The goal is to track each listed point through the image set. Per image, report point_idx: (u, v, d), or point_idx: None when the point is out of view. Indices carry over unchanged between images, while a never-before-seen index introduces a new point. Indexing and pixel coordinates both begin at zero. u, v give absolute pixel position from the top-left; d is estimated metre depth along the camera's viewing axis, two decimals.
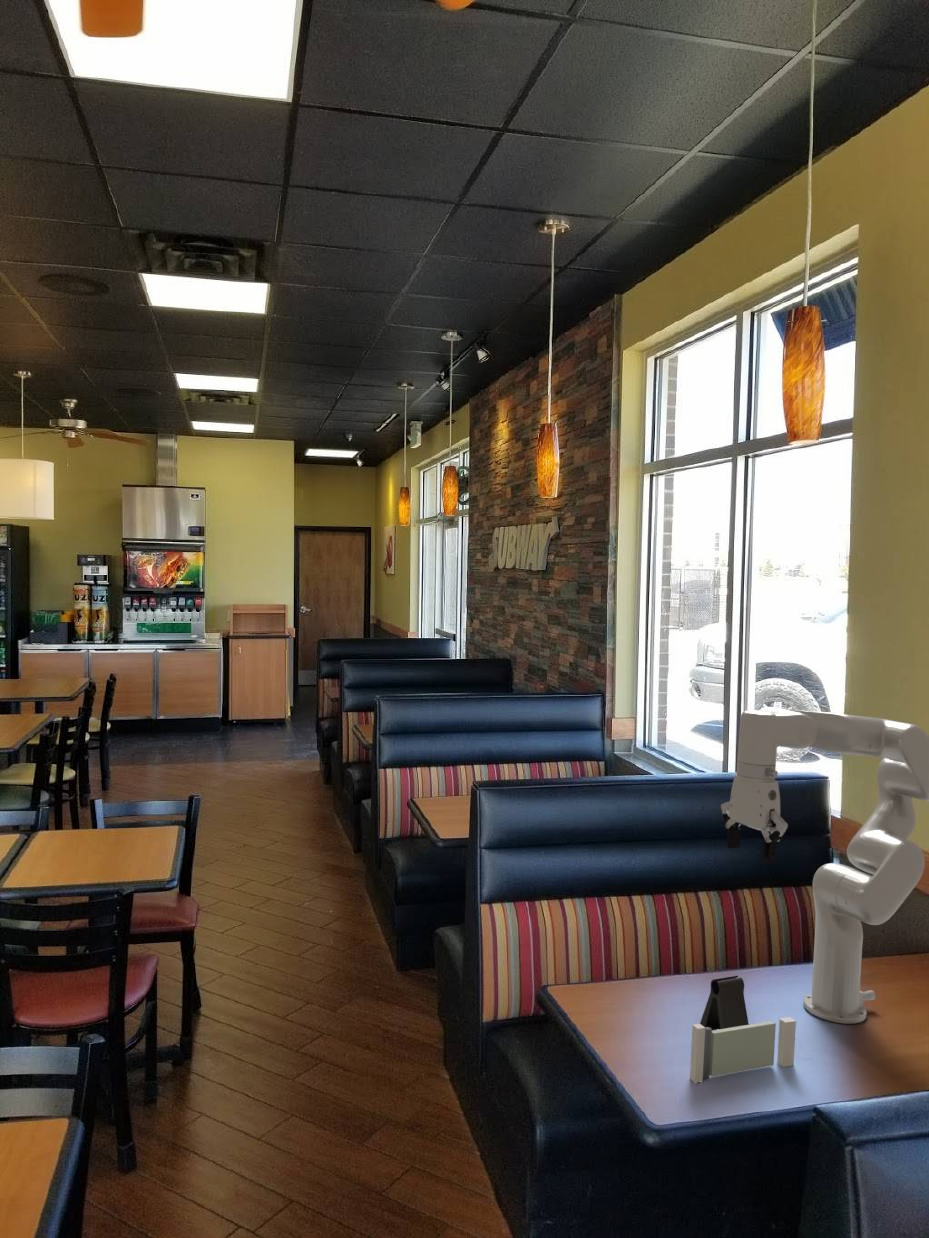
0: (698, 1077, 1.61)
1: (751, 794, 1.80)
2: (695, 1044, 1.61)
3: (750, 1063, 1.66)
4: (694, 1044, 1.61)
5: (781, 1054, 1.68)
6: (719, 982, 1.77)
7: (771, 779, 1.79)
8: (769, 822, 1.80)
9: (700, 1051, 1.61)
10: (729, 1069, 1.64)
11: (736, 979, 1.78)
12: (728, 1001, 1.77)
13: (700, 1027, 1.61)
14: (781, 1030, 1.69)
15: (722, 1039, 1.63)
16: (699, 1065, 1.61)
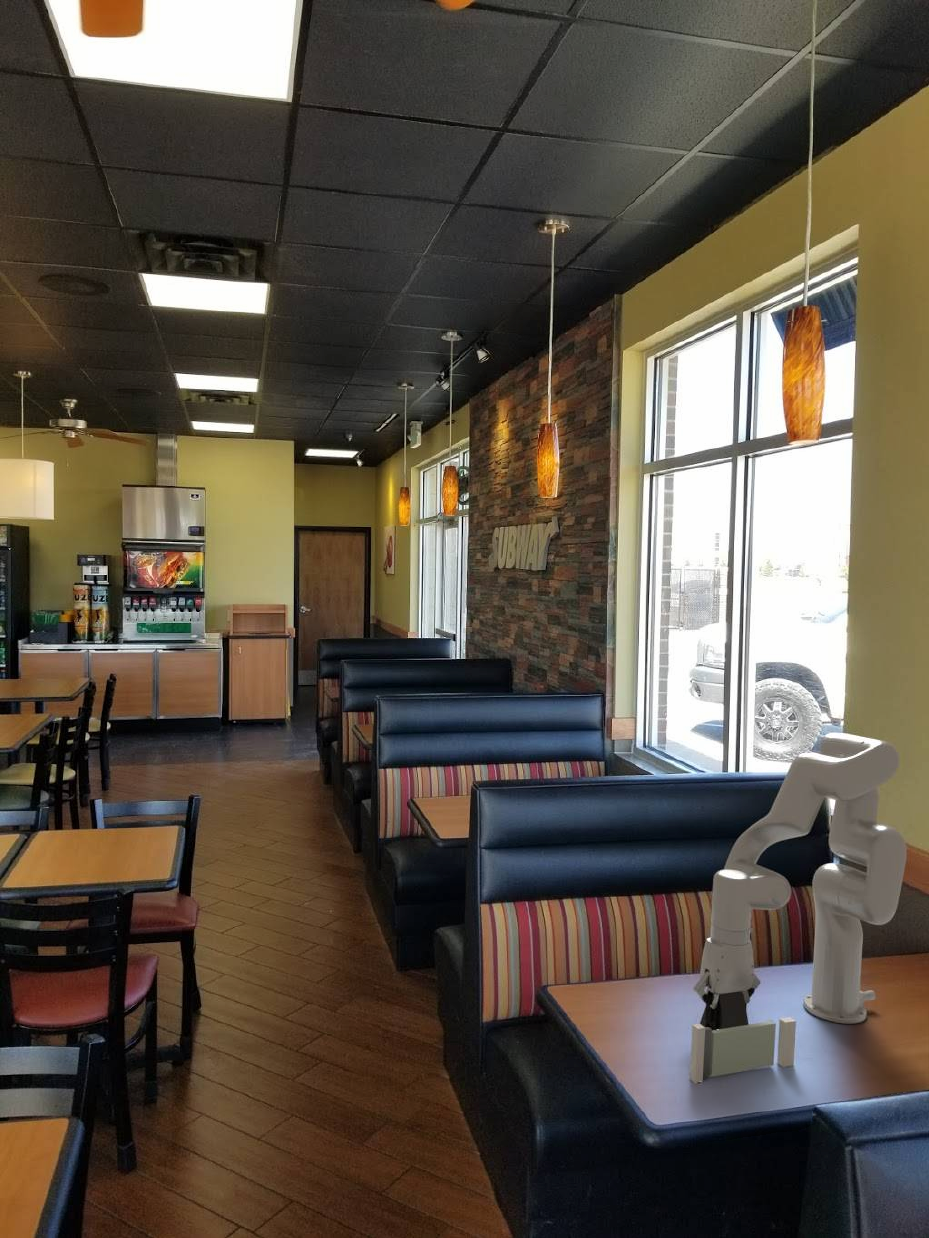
0: (698, 1077, 1.61)
1: (743, 959, 1.77)
2: (695, 1044, 1.61)
3: (750, 1063, 1.66)
4: (694, 1044, 1.61)
5: (781, 1054, 1.68)
6: None
7: None
8: None
9: (700, 1051, 1.61)
10: (729, 1069, 1.64)
11: None
12: (728, 1001, 1.77)
13: (700, 1027, 1.61)
14: (781, 1030, 1.69)
15: (722, 1039, 1.63)
16: (699, 1065, 1.61)
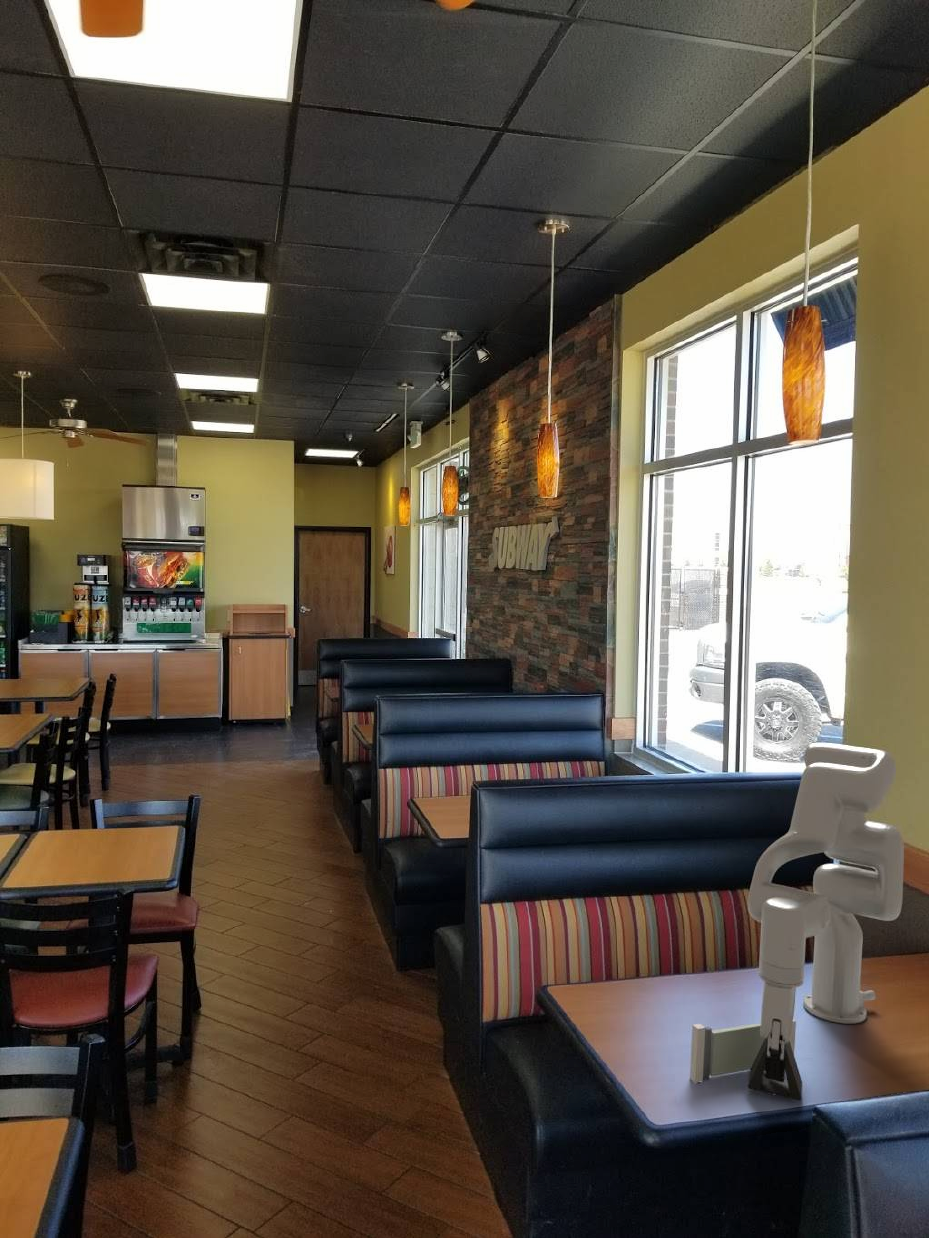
0: (698, 1077, 1.61)
1: None
2: (695, 1044, 1.61)
3: (750, 1063, 1.66)
4: (694, 1044, 1.61)
5: None
6: None
7: None
8: None
9: (700, 1051, 1.61)
10: (729, 1069, 1.64)
11: None
12: (787, 1045, 1.57)
13: (700, 1027, 1.61)
14: None
15: (722, 1039, 1.63)
16: (699, 1065, 1.61)
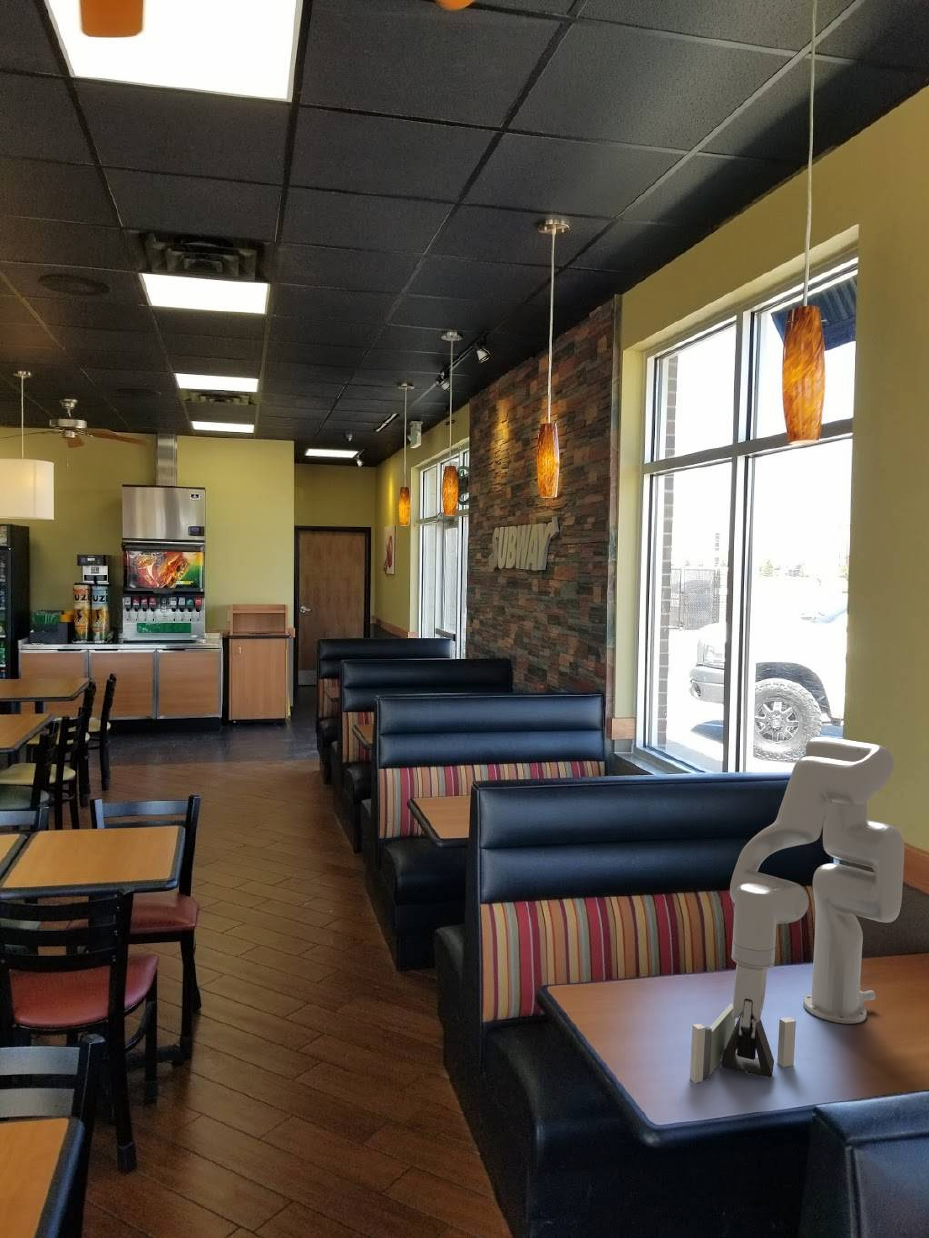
0: (698, 1077, 1.61)
1: None
2: (695, 1044, 1.61)
3: None
4: (694, 1044, 1.61)
5: (781, 1054, 1.68)
6: None
7: None
8: None
9: (700, 1051, 1.61)
10: (717, 1062, 1.66)
11: None
12: (758, 1025, 1.64)
13: (700, 1027, 1.61)
14: (781, 1030, 1.69)
15: (715, 1035, 1.65)
16: (699, 1065, 1.61)
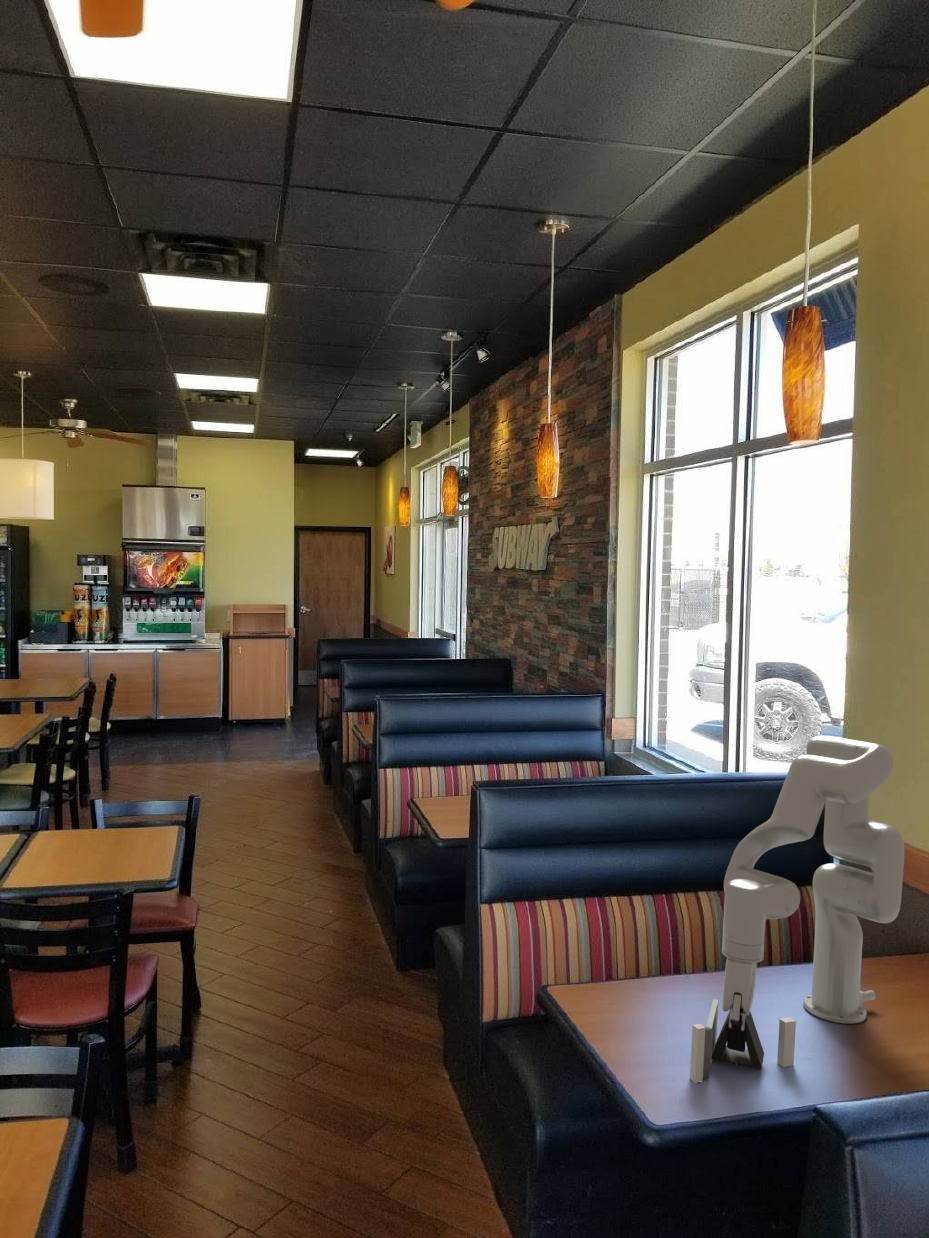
0: (698, 1077, 1.61)
1: None
2: (695, 1044, 1.61)
3: None
4: (694, 1044, 1.61)
5: (781, 1054, 1.68)
6: None
7: None
8: None
9: (700, 1051, 1.61)
10: (711, 1060, 1.67)
11: None
12: (747, 1018, 1.67)
13: (700, 1027, 1.61)
14: (781, 1030, 1.69)
15: None
16: (699, 1065, 1.61)
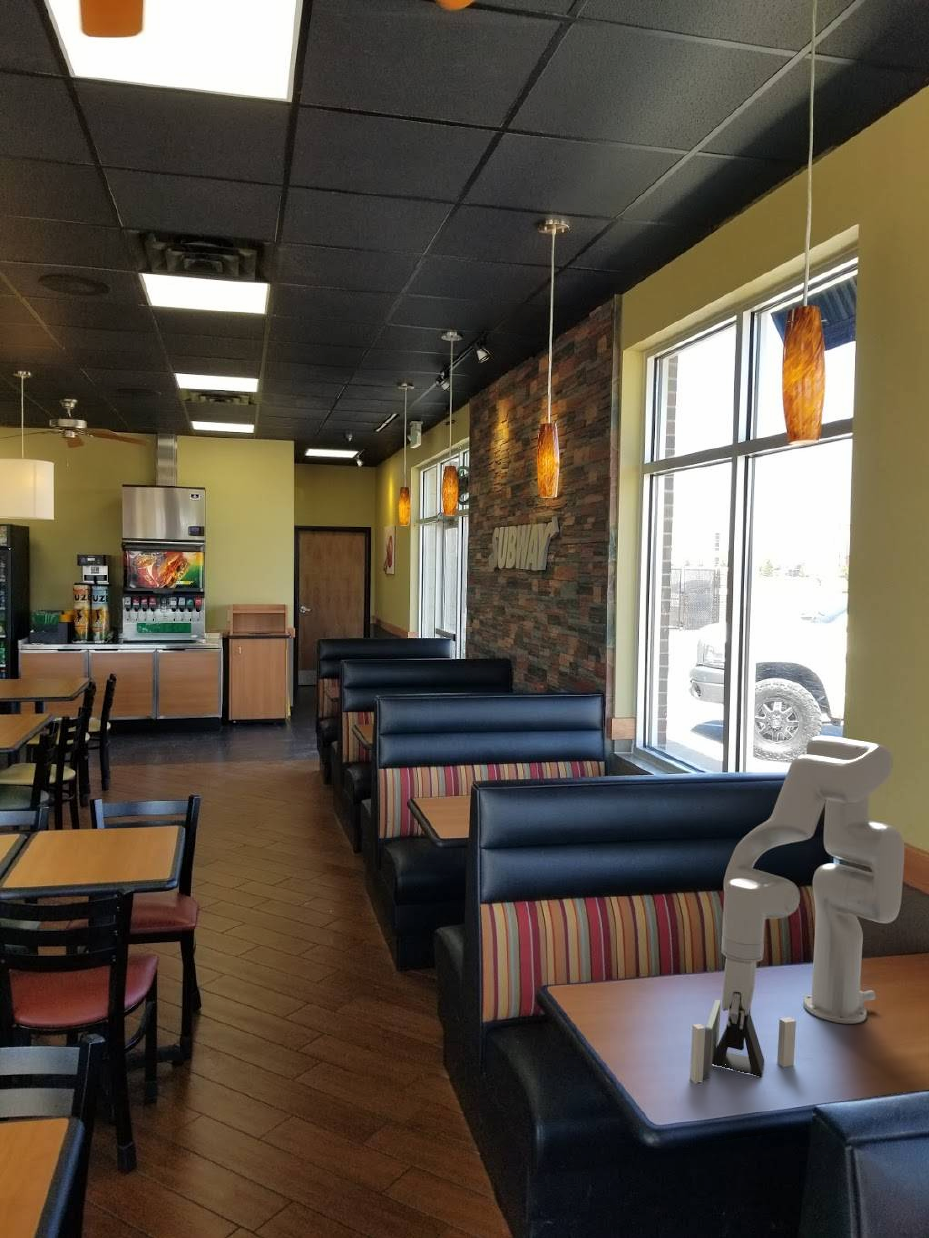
0: (698, 1077, 1.61)
1: None
2: (695, 1044, 1.61)
3: (715, 1046, 1.71)
4: (694, 1044, 1.61)
5: (781, 1054, 1.68)
6: None
7: None
8: None
9: (700, 1051, 1.61)
10: (712, 1060, 1.67)
11: None
12: (749, 1025, 1.67)
13: (700, 1027, 1.61)
14: (781, 1030, 1.69)
15: (712, 1033, 1.65)
16: (699, 1065, 1.61)
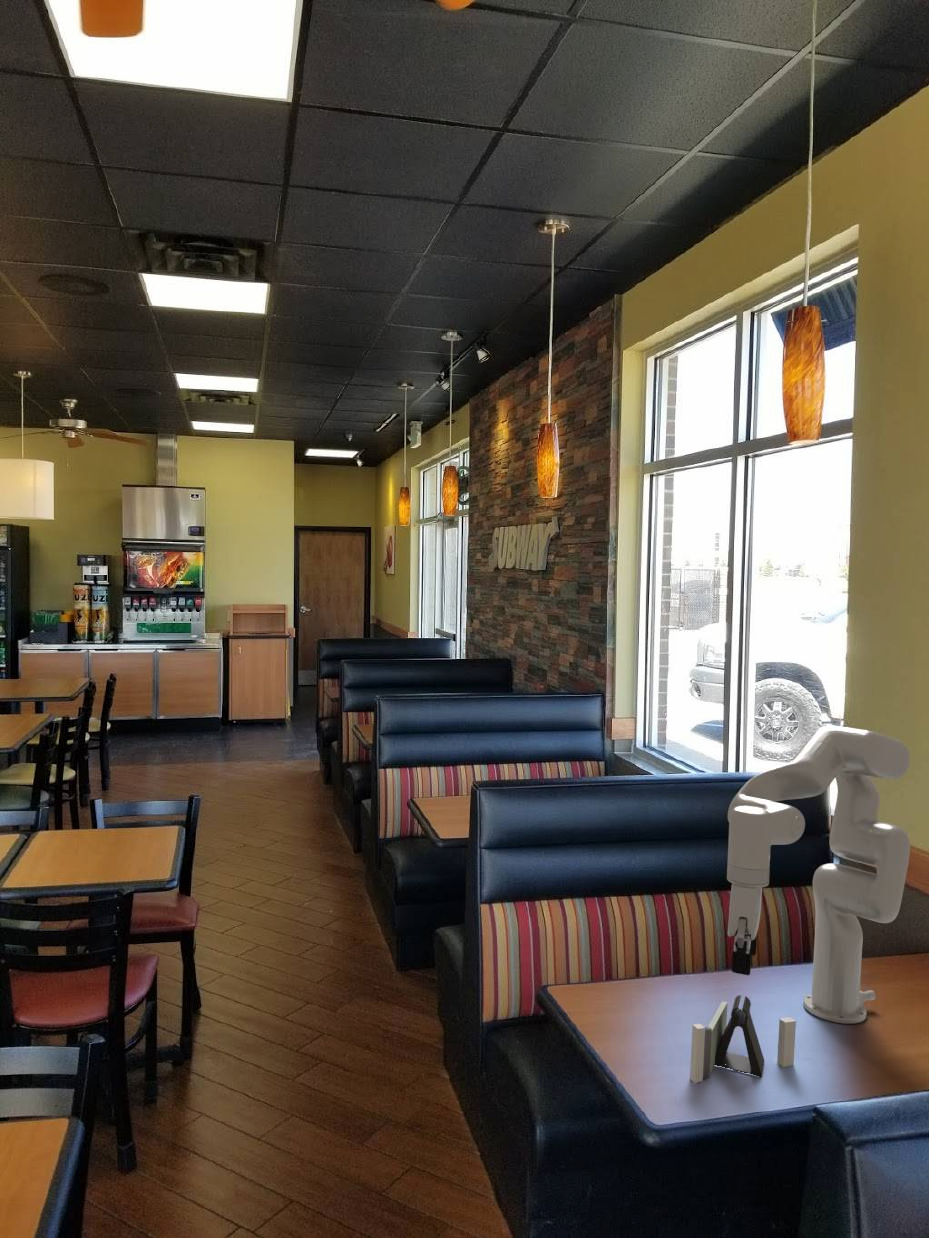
0: (698, 1077, 1.61)
1: None
2: (695, 1044, 1.61)
3: None
4: (694, 1044, 1.61)
5: (781, 1054, 1.68)
6: (744, 1009, 1.65)
7: None
8: None
9: (700, 1051, 1.61)
10: (714, 1061, 1.67)
11: (746, 999, 1.69)
12: (749, 1025, 1.67)
13: (700, 1027, 1.61)
14: (781, 1030, 1.69)
15: (713, 1034, 1.65)
16: (699, 1065, 1.61)
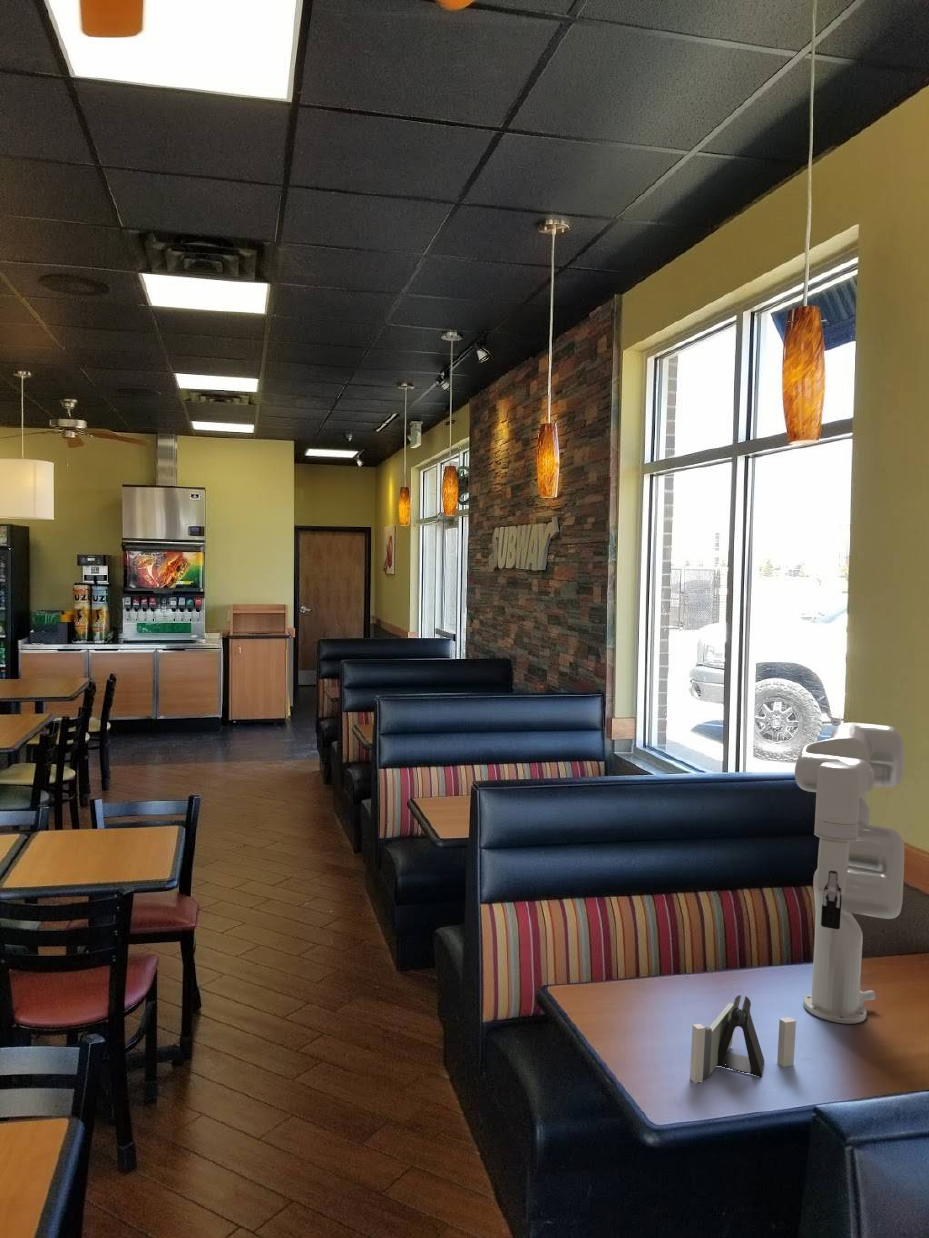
0: (698, 1077, 1.61)
1: None
2: (695, 1044, 1.61)
3: None
4: (694, 1044, 1.61)
5: (781, 1054, 1.68)
6: (744, 1009, 1.65)
7: None
8: None
9: (700, 1051, 1.61)
10: (716, 1061, 1.66)
11: (746, 999, 1.69)
12: (749, 1025, 1.67)
13: (700, 1027, 1.61)
14: (781, 1030, 1.69)
15: (715, 1034, 1.65)
16: (699, 1065, 1.61)
